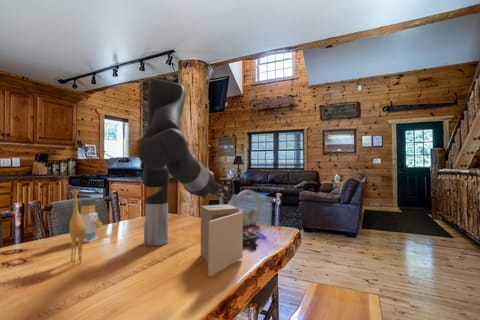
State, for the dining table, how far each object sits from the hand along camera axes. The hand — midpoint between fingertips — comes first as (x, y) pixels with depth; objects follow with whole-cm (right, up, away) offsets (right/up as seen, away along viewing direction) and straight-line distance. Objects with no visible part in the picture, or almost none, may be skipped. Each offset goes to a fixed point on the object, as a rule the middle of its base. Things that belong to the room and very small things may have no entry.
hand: (217, 197), depth 84 cm
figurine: (+6, -24, +32) cm, 41 cm away
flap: (+3, -22, -1) cm, 22 cm away
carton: (0, -23, +10) cm, 25 cm away
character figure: (-60, -24, +30) cm, 71 cm away
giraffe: (-50, -23, +6) cm, 56 cm away
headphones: (+12, -25, +58) cm, 65 cm away
